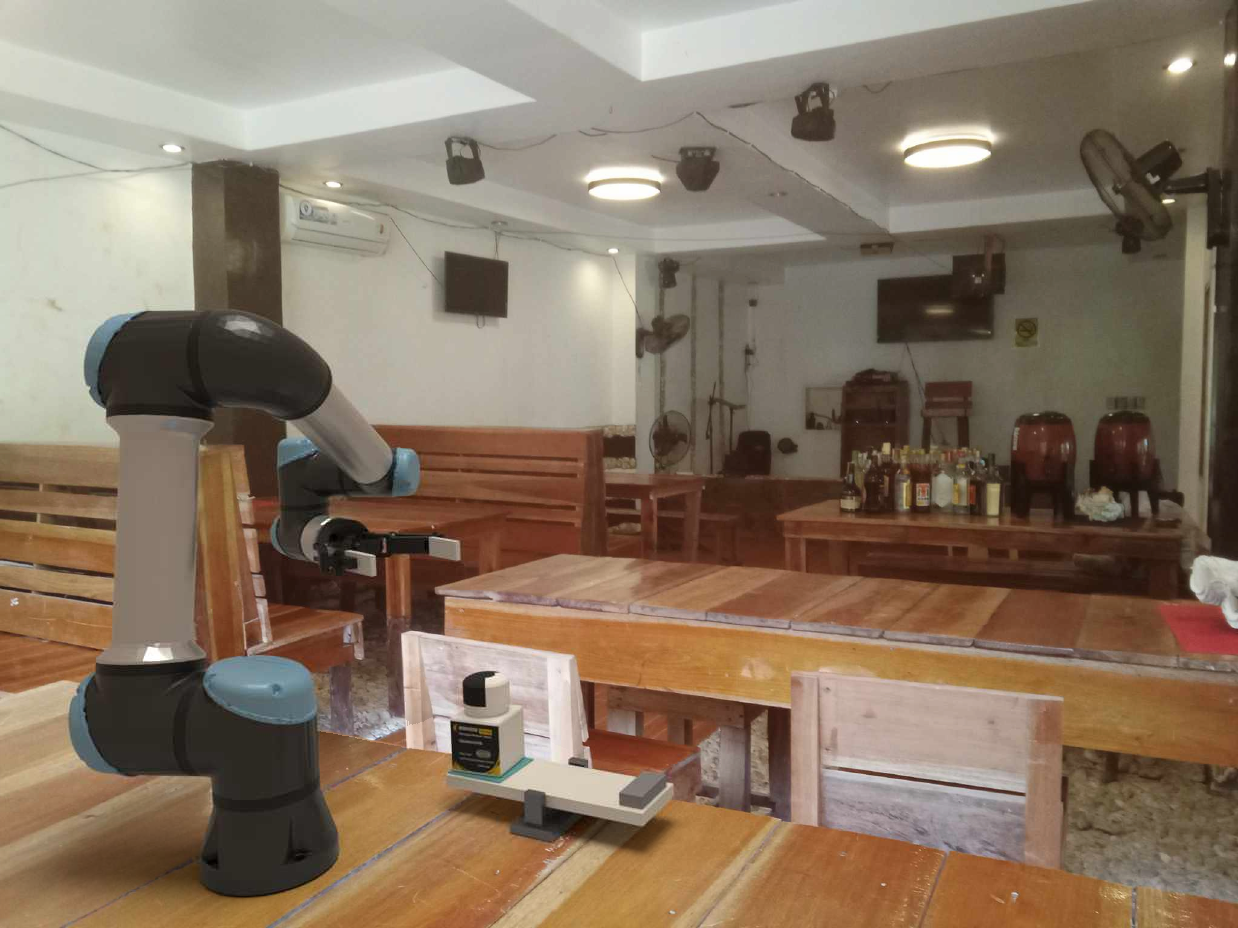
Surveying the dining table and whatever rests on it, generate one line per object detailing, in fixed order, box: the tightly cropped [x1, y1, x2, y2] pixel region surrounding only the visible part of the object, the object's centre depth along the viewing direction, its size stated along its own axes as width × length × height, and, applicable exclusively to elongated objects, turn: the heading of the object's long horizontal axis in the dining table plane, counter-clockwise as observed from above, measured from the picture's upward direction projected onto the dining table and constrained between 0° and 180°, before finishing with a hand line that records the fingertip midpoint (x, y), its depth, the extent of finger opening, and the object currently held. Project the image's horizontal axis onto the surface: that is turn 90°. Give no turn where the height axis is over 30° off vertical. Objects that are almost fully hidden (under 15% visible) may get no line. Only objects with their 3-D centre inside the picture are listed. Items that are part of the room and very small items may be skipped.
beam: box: [445, 756, 675, 827], centre depth 120 cm, size 28×9×3 cm, turn 63°
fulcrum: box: [509, 756, 589, 843], centre depth 120 cm, size 6×13×5 cm, turn 153°
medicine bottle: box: [449, 670, 526, 777], centre depth 124 cm, size 7×7×12 cm
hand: (417, 558), depth 129 cm, fingers open, 13 cm apart
